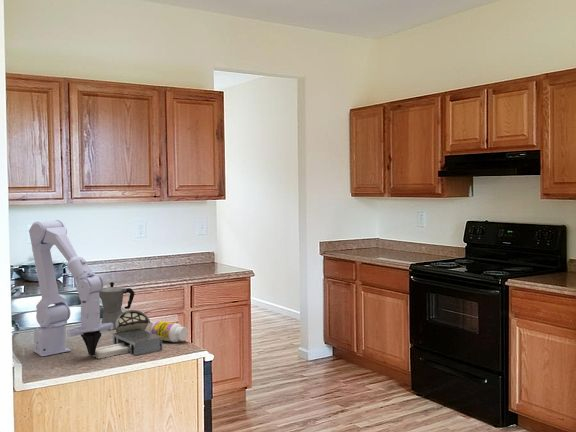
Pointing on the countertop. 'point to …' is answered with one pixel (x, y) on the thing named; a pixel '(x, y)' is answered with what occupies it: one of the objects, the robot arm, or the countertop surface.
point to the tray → (111, 350)
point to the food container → (132, 321)
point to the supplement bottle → (169, 331)
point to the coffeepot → (114, 303)
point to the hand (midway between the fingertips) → (91, 354)
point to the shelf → (138, 341)
